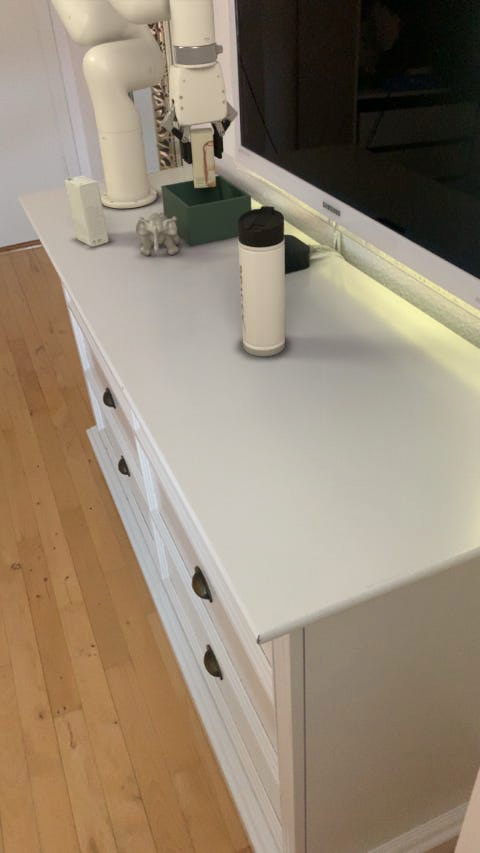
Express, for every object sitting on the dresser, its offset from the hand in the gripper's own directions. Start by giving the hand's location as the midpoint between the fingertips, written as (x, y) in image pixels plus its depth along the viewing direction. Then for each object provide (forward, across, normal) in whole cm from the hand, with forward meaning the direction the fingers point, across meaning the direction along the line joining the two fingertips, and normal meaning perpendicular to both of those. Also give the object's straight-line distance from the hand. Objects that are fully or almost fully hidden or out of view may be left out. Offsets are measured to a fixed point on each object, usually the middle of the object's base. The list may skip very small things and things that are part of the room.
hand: (202, 158), depth 136 cm
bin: (+14, 0, 0) cm, 14 cm away
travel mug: (+14, +11, +49) cm, 52 cm away
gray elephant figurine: (+14, +13, +9) cm, 21 cm away
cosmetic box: (+14, +23, -5) cm, 27 cm away
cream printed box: (+5, 0, 0) cm, 5 cm away
